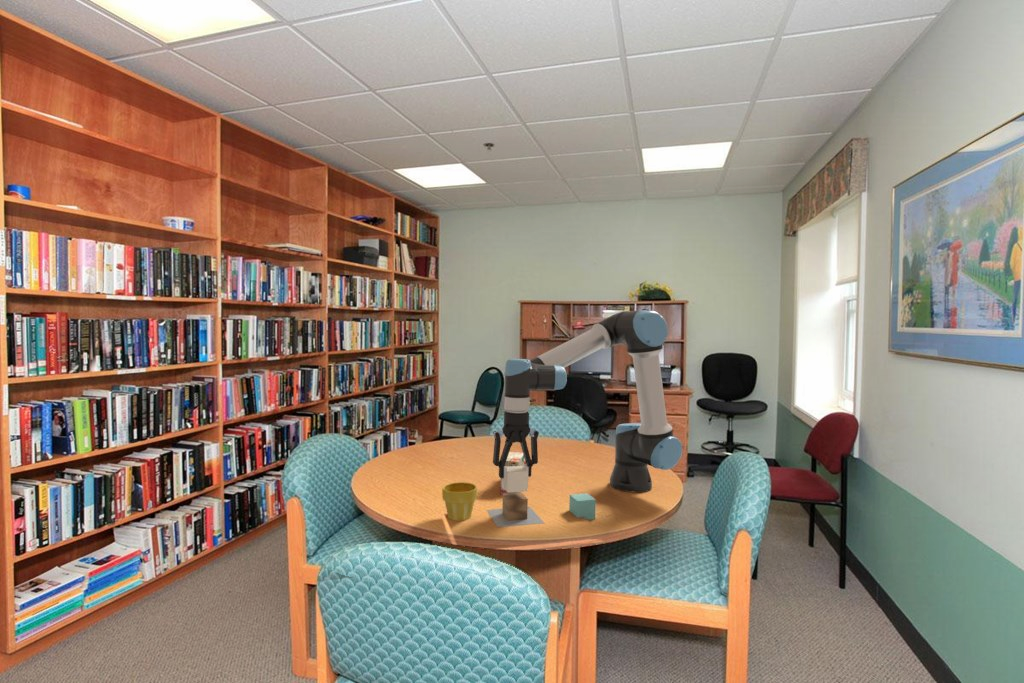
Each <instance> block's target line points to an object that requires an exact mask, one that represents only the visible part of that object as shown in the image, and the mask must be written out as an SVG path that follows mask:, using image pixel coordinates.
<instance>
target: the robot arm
mask: <svg viewBox="0 0 1024 683" xmlns="http://www.w3.org/2000/svg"><path fill="white" fill-rule="evenodd" d="M668 335H669V328H668V323H667V321H666V320H665V317H664V316H662V314H660V313H658V312H657V311H654V310H647V309H641V310H631V311H630V310H626V311H625V310H624V311H620V312H616V313H614V314H612V315H610V316H609V317H607V318H604V319H603V320H601V321H598V322H596V323H594V324H593V325H592V328H591V329H589V330H587V331H585V332H583V333H581V334H580V335H577V336H575V337H573V338H571V339H570V340H567V341H565V342H564V343H562V344H560V345H558V346H556V347H553V348H552V349H549V350H547V351H545V352H544V353H542V354H539V355H538V356H536V357H534V358H532V359H527V358H509V359H507V360H506V362H505V367H504V406H503V407H504V408H503V409H504V410H505V411H504V412H503V426H502V429H501V430H498V431H497V430H494V431H493V437H494V445H493V455H492V456H493V457H492V463H493V465H494V466H495V467H498V478H499V479H501V478H502V489H503V490H506V482H507V468H506V467H505V463H506V460H507V457H508V454H509V452H511V448H512V446H513V444H514V443H519V444H520V447H521V451H522V453H523V454H524V458H525V461H526V465H523V467H524V468H525V469H526V470H527V471H528V478H530V477H532V467H533V466H534V465H537V464H538V463H539V460H538V459H539V458H538V457H539V454H538V453H539V452H538V437H539V434H540V433H539V431H538V430H536V429H531V427H530V412H529V411H530V407H531V406H530V398H531V397H530V396H531V395H530V394H531V391H557V390H562V389H564V388H565V387H566V385H567V383H568V382H567V381H568V379H567V378H568V375H567V371H566V367H568V366H571V365H572V364H574V363H576V362H578V361H580V360H582V359H584V358H585V357H588V356H590V355H592V354H594V353H596V352H597V351H599V350H601V349H604V350H606V349H609V348H612V347H614V346H618V345H626V352H627V354H628V355H630V356H631V357H632V361H633V370H634V376H635V386H636V387H635V388H636V392H637V393H636V394H637V401H638V410H639V416H640V422H636V423H633V422H631V423H630V422H629V423H621V424H618V425H616V429H615V434H614V435H615V444H614V445H615V447H614V448H615V449H614V450H615V451H614V452H615V453H614V454H615V455H614V466H613V468H612V472H611V474H610V478H609V486H610V485H611V486H610V487H612V488H613V489H615V488H616V489H615V490H618V489H619V491H622V490H624V491H623V492H628V491H635V492H634V493H639V492H638V491H644V492H648V491H650V490H652V486H653V481H652V477H651V474H650V471H649V467H648V466H651V467H653V468H654V469H657V470H658V469H660V470H662V471H665V470H667V471H669V470H670V469H673V468H674V467H675V466H676V465H677V464H678V463H679V461H680V460H681V457H682V454H683V444H682V442H681V440H680V439H679V438H677V437H676V436H674V429H673V426H672V425H671V424H669V423H668V420H667V419H668V418H667V410H666V402H665V395H664V386H663V378H662V370H661V361H660V352H662V351H663V344H664V343H665V342H666V340H667V338H668ZM503 435H504V437H505V441H504V446H503V449H502V452H500V451H501V442H502V440H501V439H502V438H503ZM528 436H530V450H529V447H528V443H527V440H526V439H527V437H528ZM530 453H531V454H530ZM528 489H529V484H528V485H527V490H528ZM647 490H648V491H647Z"/></svg>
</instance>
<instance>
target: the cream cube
mask: <svg viewBox="0 0 1024 683" xmlns="http://www.w3.org/2000/svg"><path fill="white" fill-rule="evenodd" d="M506 468H507V482H506V491H507V493H512V492H520V493H524V492H525V493H527V492H528V489H527V485H528V486H529V477H528V471H527V470H526V469H525V468H524V467H523V466H508V467H506Z"/></svg>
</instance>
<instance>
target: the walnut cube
mask: <svg viewBox="0 0 1024 683" xmlns="http://www.w3.org/2000/svg"><path fill="white" fill-rule="evenodd" d="M528 500H529V499H528V498H527V496H525V494H524V492H520V493H508V494H503V495H502V508H501V509H502V514H503V515H504V516H505V518H506V519H507V521H511V520H523V519H527V508H528V507H529V506H528V505H529V504H528V502H529V501H528Z"/></svg>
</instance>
